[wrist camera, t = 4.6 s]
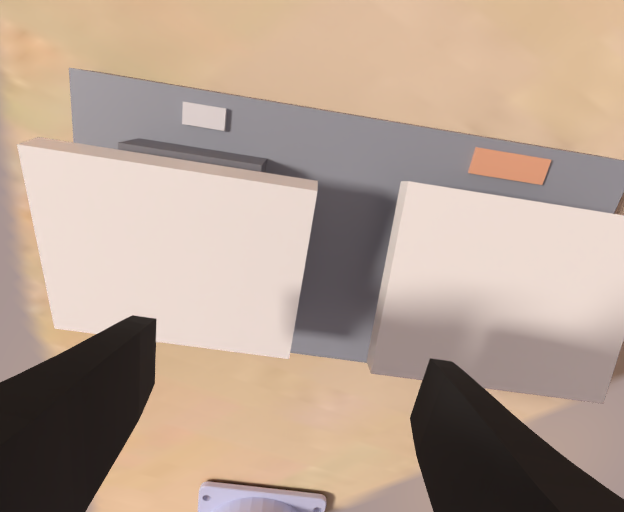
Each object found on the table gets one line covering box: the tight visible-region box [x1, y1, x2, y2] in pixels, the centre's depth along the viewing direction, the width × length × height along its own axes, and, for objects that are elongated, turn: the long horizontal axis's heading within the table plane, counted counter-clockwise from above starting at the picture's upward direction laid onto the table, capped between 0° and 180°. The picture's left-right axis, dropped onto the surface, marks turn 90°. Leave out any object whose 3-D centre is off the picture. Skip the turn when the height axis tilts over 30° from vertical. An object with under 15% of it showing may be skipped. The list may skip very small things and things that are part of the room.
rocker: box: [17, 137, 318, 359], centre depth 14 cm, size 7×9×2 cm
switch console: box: [69, 68, 624, 363], centre depth 17 cm, size 11×22×4 cm, turn 81°
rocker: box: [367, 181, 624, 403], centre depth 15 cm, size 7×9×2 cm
